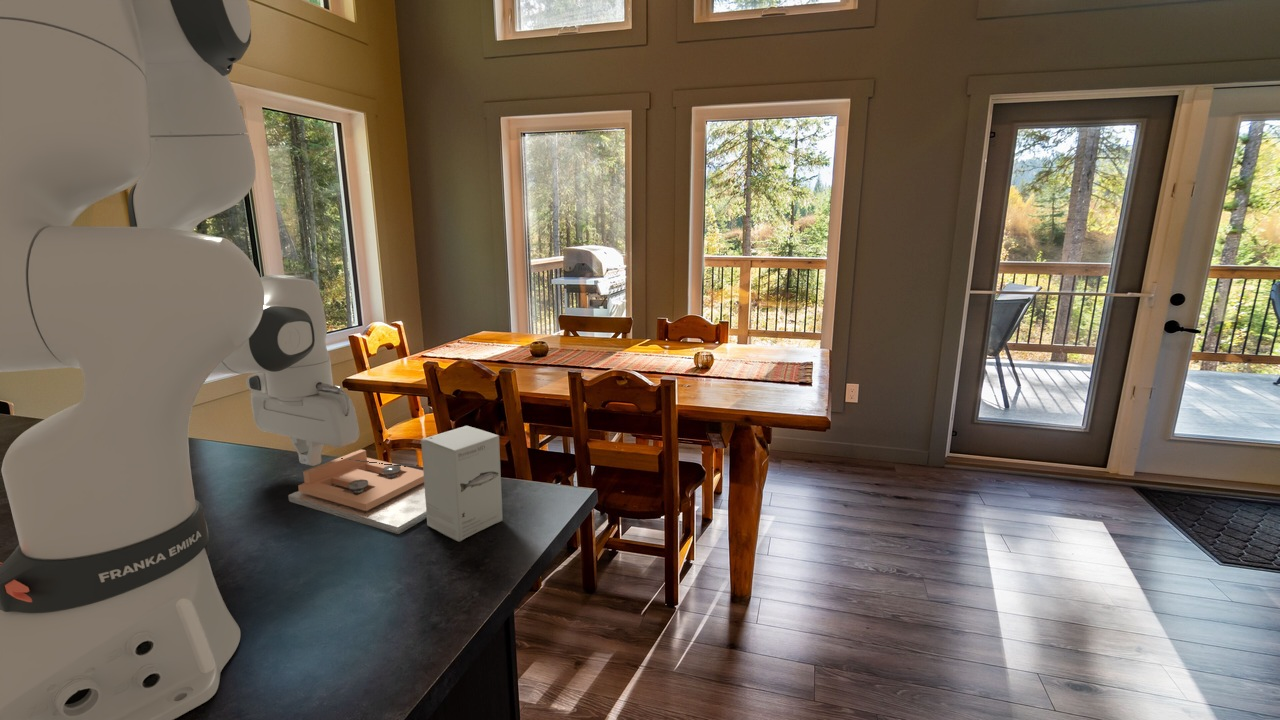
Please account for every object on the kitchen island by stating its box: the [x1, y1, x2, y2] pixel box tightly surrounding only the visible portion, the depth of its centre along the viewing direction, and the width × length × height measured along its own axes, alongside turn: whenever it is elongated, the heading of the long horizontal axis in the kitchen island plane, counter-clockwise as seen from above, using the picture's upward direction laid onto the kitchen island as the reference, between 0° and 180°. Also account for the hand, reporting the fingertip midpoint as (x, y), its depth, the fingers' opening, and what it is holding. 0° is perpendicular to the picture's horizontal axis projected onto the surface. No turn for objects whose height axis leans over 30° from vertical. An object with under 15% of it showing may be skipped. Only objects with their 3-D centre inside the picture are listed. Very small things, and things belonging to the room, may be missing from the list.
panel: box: [298, 449, 424, 511], centre depth 86 cm, size 12×14×3 cm
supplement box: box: [420, 425, 504, 543], centre depth 76 cm, size 7×7×13 cm
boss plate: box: [287, 465, 427, 535], centre depth 85 cm, size 14×22×3 cm, turn 65°
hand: (310, 463), depth 91 cm, fingers closed
